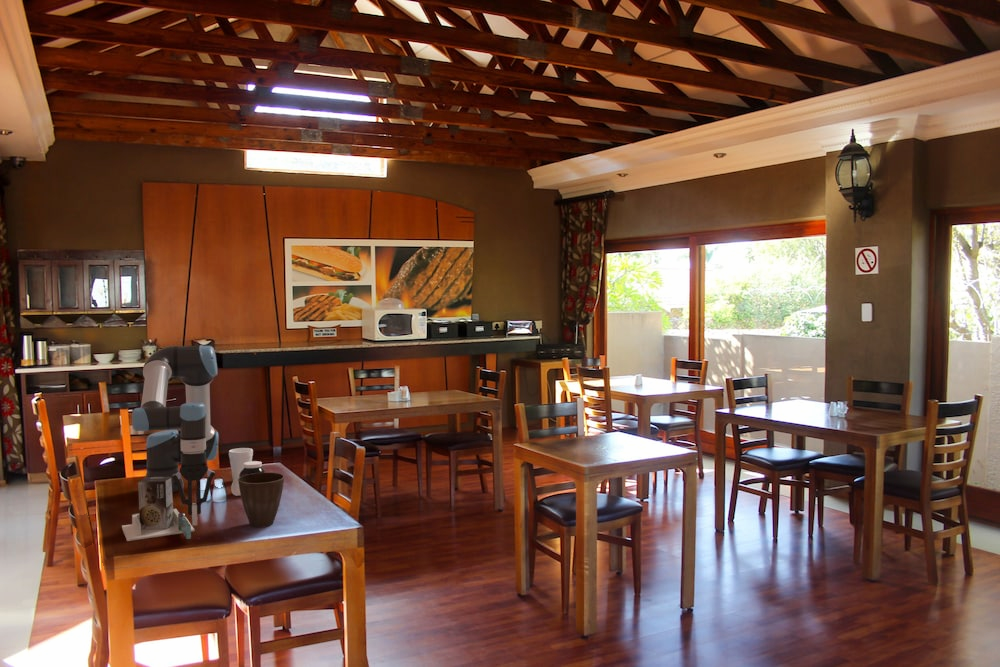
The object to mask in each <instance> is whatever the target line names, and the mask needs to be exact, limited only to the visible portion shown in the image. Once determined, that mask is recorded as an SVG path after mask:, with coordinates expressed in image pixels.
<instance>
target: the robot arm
mask: <svg viewBox="0 0 1000 667" xmlns="http://www.w3.org/2000/svg"><path fill="white" fill-rule="evenodd" d="M142 375H143V378H144V382H143V388H142V389H143V390H142V397H141V404H140V407H136V408H134V409H133V410H132V412H131V413H132V416H131V423H132V425H131V426H132V429H133V430H134V431H135V432H151V431H152V432H153V431H156V432H154V433H151V434H149V435H148V436H147V437H146V441H145V442H146V444H145V449H146V450H145V451H146V474H145V477H172V485H173V493H176V492H178V493H179V498H180V501H181V504H182V505H187V514H188V515H189V516H191V525H192V527H194V526H198V515H201V513H202V504H203V503H206V502H207V501H208V496H209V492H210V487H211V484H212V480H213V478H214V477H215V475H216V473H215V471H214V470H211V469H210V468H209V466H208V464H207V461H213V460H215V459H216V457H217V455H218V450H219V449H218V448H219V432H218V431H215V428H214V427H213V426H212V424H211V394H210V393H211V392H210V391H211V390H210V388H211V387H210V384H211V383H212V382H213V381H214V377H216V376H218V363H217V355H216V351H215V348H214V347H213V346H212V345H202V344H200V345H176V346H175V345H169V346H165V347H163V348H160V349H158V350H157V351H155V352H153V353H152V354H151V355H149V357H148V358H147V359H146V361H145V362H144V364H143V368H142ZM171 378H180V380H181V382H182V383H183V384H184V385H185V403H183V404H181V405H177V406H167V395H168V386H169V380H170V379H171ZM179 430H180V433H179ZM179 463H180V464H179ZM179 465H180V466H179ZM179 467H180V468H179ZM206 473H207V474H206ZM204 476H206V477H207V480H206V483H205V486H204V487H205V488H204V492H203V495H202V494H201V493H202V492H201V480H202V479H203V477H204ZM145 477H144V478H145ZM182 477H183V478H184V480H186V481H187V499H186V495H185V492H184V485H185V484H184V480H183V478H182ZM194 481H195V482H196V483H195V484H196V487H195V488H196V489H195V490H196V502H195V503H194V502H193V482H194ZM201 496H202V497H201Z"/></svg>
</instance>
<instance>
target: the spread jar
mask: <svg viewBox="0 0 1000 667" xmlns="http://www.w3.org/2000/svg"><path fill="white" fill-rule="evenodd" d="M262 463H263V462H262V461H257V460H252V461H250V462H245V463H244V468H243V470H242V471H241V472H240V475H239V478H240V477H242V476H244V475H248V474H254V473H267V472H266V469H264V467H262V466H263V464H262ZM239 478H237V479H235V480H234V481H233V480H232V484H231V487H230V490H231V493H232V495H233V496H236V497H241V494H240V488H239V482H238V479H239Z"/></svg>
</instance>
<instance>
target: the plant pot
mask: <svg viewBox="0 0 1000 667" xmlns="http://www.w3.org/2000/svg"><path fill="white" fill-rule="evenodd" d="M238 482H239V488H240V494H241V496H240V498H241V501H242V502H241V503H242V505H243V509H244V512H245V514H246V518H247V520H248V522H249V525H250V526H251V527H254V528H265V527H269V526H272V525H274V521H275V519H276V516H277V513H278V510H279V508H280V504H281V499H282V495H283V489H284V482H285V475H284V474H282V473H278V472H266V473H254V474H248V475H244V476H242V477H240V478H239V479H238Z"/></svg>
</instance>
